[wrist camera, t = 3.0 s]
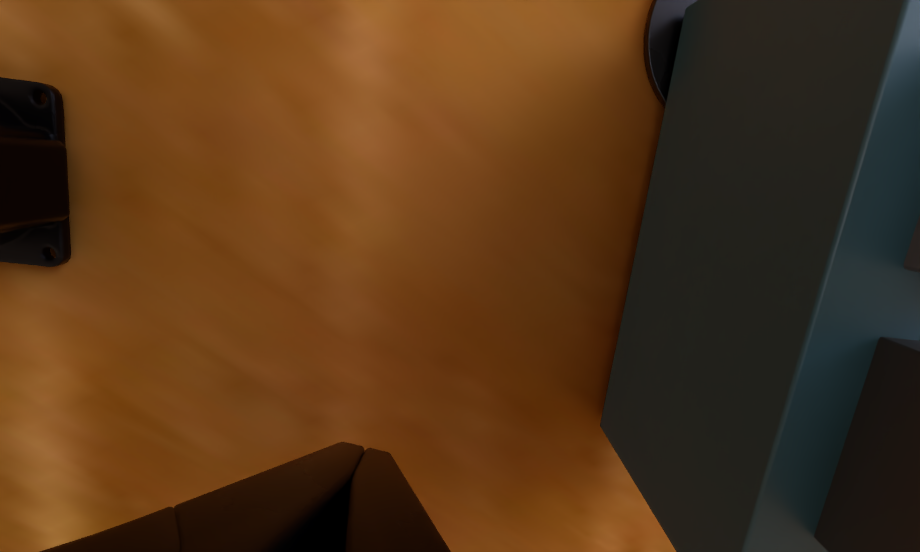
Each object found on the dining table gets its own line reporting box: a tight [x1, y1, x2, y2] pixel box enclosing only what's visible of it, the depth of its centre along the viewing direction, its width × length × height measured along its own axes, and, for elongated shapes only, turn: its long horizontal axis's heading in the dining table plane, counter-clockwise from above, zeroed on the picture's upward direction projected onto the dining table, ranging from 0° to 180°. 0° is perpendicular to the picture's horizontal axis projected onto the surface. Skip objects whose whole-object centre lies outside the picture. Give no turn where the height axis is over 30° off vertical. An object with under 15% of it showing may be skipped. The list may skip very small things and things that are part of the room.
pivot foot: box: [644, 0, 697, 108], centre depth 17 cm, size 7×7×1 cm
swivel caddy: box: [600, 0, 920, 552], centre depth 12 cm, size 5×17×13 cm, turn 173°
